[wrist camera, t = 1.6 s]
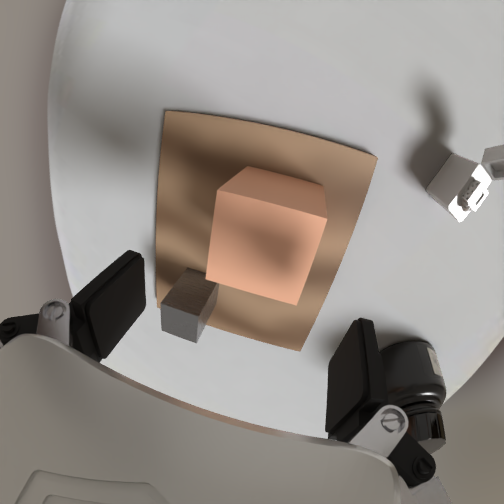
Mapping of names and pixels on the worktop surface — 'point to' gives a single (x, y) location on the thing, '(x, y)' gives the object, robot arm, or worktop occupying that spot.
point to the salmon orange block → (266, 233)
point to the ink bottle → (417, 390)
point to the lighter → (466, 181)
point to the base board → (203, 204)
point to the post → (189, 305)
